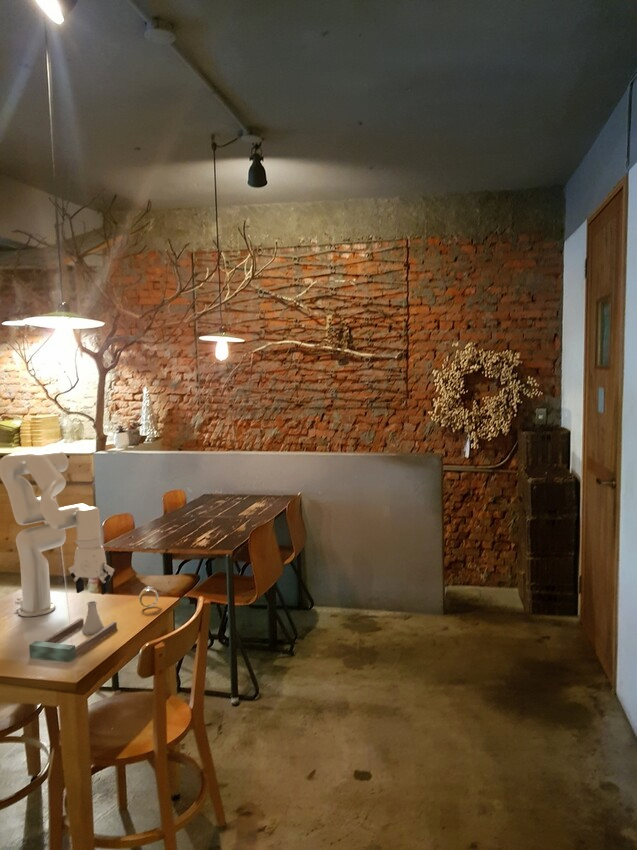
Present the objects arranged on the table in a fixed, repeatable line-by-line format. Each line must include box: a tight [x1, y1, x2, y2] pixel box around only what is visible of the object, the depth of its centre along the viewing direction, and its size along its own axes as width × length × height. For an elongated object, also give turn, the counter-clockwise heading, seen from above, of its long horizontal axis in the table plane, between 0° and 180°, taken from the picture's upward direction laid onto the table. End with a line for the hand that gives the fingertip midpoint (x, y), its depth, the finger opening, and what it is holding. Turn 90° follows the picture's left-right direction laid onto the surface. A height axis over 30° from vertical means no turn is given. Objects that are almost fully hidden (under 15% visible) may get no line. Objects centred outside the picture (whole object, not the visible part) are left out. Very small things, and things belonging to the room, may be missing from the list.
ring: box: [138, 585, 159, 609], centre depth 226 cm, size 7×3×8 cm, turn 116°
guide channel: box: [28, 617, 118, 663], centre depth 197 cm, size 14×25×4 cm, turn 165°
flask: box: [81, 600, 105, 635], centre depth 206 cm, size 7×7×10 cm
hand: (92, 592), depth 205 cm, fingers open, 9 cm apart
